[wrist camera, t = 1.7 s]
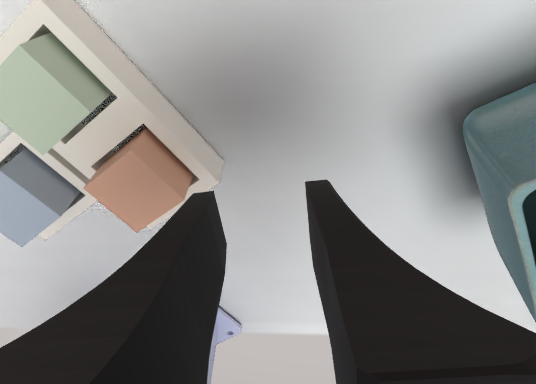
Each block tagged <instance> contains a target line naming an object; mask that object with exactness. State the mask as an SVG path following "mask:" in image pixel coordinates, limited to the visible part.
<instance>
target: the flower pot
mask: <svg viewBox="0 0 536 384" xmlns="http://www.w3.org/2000/svg"><path fill="white" fill-rule="evenodd" d="M463 136H464V141H465V144H466V148H467V151H468V154H469V158H470V161H471V164H472V167H473V171H474V174H475V177H476V181H477V184H478V188H479V191H480V194H481V198H482V202H483V205H484V209H485V212H486V216H487V220H488V224H489V227H490V230H491V234H492V237H493V239H494V242H495V245H496V247H497V249H498V252H499V254H500V256H501V258H502V260H503V262H504V264H505V266H506V267H507V269H508V271H509V273H510V275H511V277H512V279H513V281H514V283H515V285H516V287H517V289H518V290H519V292H520V294H521V296H522V298H523V300H524V302H525V304H526V305H527V307H528V309H529V311H530V313H531V315H532V316H533V318H534V320H535V322H536V82H535V83H532V84H530V85H528V86H526V87H524V88H522V89H519V90H517V91H515V92H513V93H510V94H508V95H506V96H503V97H501V98H498V99H496V100H494V101H491V102H489V103H487V104H485V105H482V106H480V107H478V108H476V109H474V110H473V111H471V112H470V113H469V115H468V116H467V117H466V119H465V120H464V123H463Z"/></svg>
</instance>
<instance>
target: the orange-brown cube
mask: <svg viewBox="0 0 536 384" xmlns="http://www.w3.org/2000/svg"><path fill="white" fill-rule="evenodd" d="M192 176H193V172H192V171H191V170H190V169H189V168H188V167H187V166H186V165H185V164H184V163H183V162H182V161H181V160H180V159H179V158H178V157H177V156H175V155H174V154H173V153H172V152H171V151H170V150H169V149H168V148H167V147H166V146H165V145H164V144H163V143H162V142H161V141H160V140H159V139H158V138H157V137H156V136H155V135H154V134H153V133H152V132H151V131H150V130H149V129H148V128H147V127H146V128H145V129H143V130H142V131H141V132H140V133H138V134H137V135H136V136H135V137H134V138H132V139H131V140H130V141H129V142H127V143H126V144H125V145H124V146H122V147H121V148H120V149H119V150H118V151H116V152H115V153H114V154H113V155H111V156H110V157H109V158H108V159H107V160H105V161H104V162H103V163H102V165H101V166H100V167H99V168H98V170H97V171H96V172H95V174H94V175H93V176H92V177H91V179H90V180H89V181H88V183H87V184H86V185H85V186H84V188H83V189H84V190H86V191H87V192H88V193H89V194H90V195H92V196H93V197H94V198H95V199H97V200H98V201H99V202H100V203H101V204H103V205H104V206H105V207H106V208H108V209H109V210H110V211H111V212H112V213H114V214H115V215H116V216H117V217H118V218H120V219H121V220H122V221H123V222H125V223H126V224H127V225H128V226H129V227H131V228H132V229H133V230H134V231H136V232H138V231H140V230H141V229H143V228H144V227H146V226H147V225H149V224H150V223H152V222H153V221H155V220H156V219H157V218H159V217H160V216H162V215H163V214H165V213H166V212H168V211H169V210H171V209H172V208H174V207H175V206H176V205H178V204H179V203H181V202H182V201H184V199H185V197H186V194H187V191H188V188H189V185H190V182H191V179H192Z"/></svg>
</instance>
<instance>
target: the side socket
mask: <svg viewBox="0 0 536 384" xmlns="http://www.w3.org/2000/svg"><path fill="white" fill-rule="evenodd" d="M22 145H24V146H26V147H27V148H28V149H29V150H31V151H32V152H33V153H34V154H35V155H37V156H38V157H39V158H40V159H42V160H43V161H44V162H45V163H47V164H48V165H49V166H50V167H51V168H53V169H54V170H55V171H56V172H58V173H59V174H60V175H61V176H63V177H64V178H65V179H66V180H67V181H69V182H70V183H71V184H72V185H74V186H75V187H76V188H77V189H78V190H80V193H79V194H78V195H77V197H76V198H75V199H74V200H73V202H72V203H71V204H70V206H69V207H68V208H67V209H66V211H65V212H64V213H63V215H62V216H61V217H60V218H59V219H57V220H56V221H55V222H53V223H52V224H51V225H50V226H48V227H47V228H46V229H45V230H43V231H42V232H41V233H39V234H38V236H40V237H41V238H43V239H44V240H45V241H46V240H47V239H48V238H49V237H51V236H52V235H53V234H55V233H56V232H57V231H59V230H60V229H61V228H62V227H64V226H65V225H66V224H68V223H69V222H70V221H72V220H73V219H74V218H75V217H77V216H78V215H79V214H81V213H82V212H83V211H85V210H86V209H87V208H88V207H90V206H91V205H92V204H94V203H95V202H96V201H98V200H97V199H95V198H94V197H93V196H92V195H90V194H89V193H88V192H87V191H86V190H84V189H83V188H84V186H85V185H86V184H87V183H88V181H89V180H90V179H88V178H87V177H86V176H85V175H84V174H82V173H81V172H80V171H79V170H78V169H76V168H75V167H74V166H73V165H72V164H71V163H69V162H68V161H67V160H66V159H65V158H63V157H62V156H61V155H60V154H59V153H57V152H56V151H55V150H54V149H53V148H51V149H50V150H49V151H48V152H47V153H45V154H44V155H42V154H41V153H39V152H38V151H37V150H36V149H34V148H33V147H32V146H31V145H30V144H28V143H27V142H26V141H25V140H23V139H22V138H21V137H20V136H19V135H17V134H16V133H15V132H14V131H12V132H11V133H10V134H9V135H8V136H7V137H6V138H5V139H4V140H3V141H2V142H1V143H0V168H2V167H3V166H4V165H5V164H7V163H6V162H5V161H6V160H7V159H8V158H9V157H10V156H11V155H12V154H14V153H15V152H16V151H17V150H18V149H19V148H20V147H21V146H22Z"/></svg>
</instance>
